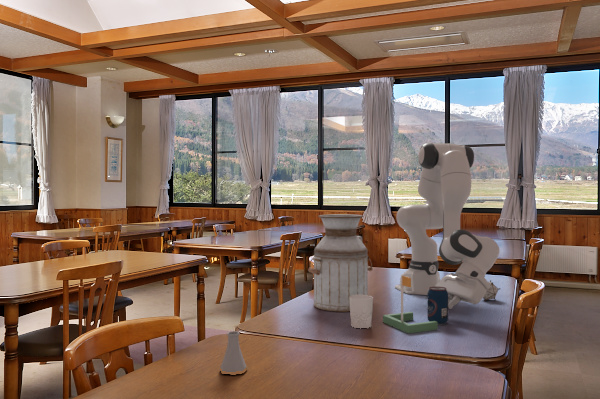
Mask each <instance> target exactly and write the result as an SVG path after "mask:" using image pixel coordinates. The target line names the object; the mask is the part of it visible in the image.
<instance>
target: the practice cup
mask: <svg viewBox="0 0 600 399" xmlns="http://www.w3.org/2000/svg"><path fill="white" fill-rule="evenodd" d="M400 278H401V291H400V312H398V313H390V314H383V315H382V323H383V322H384V324H386V325H388V326H390V327H392V326H393V327H392V328H395V329H397V330H399V331H401V332H404V333H406V334H414V333H422V332H429V331H435V330H436V331H437V330H439V328H438V322H436V321H430V322H429V321H424V322H416V323H407V322H408V321H413V320H414V312H412V311H406V312H404V292H403V285H404V286H407V287H411V278H409V277H405V276H403V275H402V274H401V275H400ZM406 321H407V322H406Z"/></svg>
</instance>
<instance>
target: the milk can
mask: <svg viewBox="0 0 600 399" xmlns="http://www.w3.org/2000/svg"><path fill="white" fill-rule="evenodd" d="M317 217H318V218H320V219H321V221H322V225H323V227H324V230H325V231H324V233H325V234H324V236H323V237H322V238H321V240H320V241H319V242H318V244H317V245H316V246H315V247H314V250H313V257H312V258H311V259H310V262H309V267H308V269H307V271H308V273H311V274H313V306H314V308H316V309H319V310H323V311H327V312H328V311H329V312H338V313H340V312H341V313H343V312H345V313H348V312H349V311H350V301H349V297H350V296H351V295H369V290H368V289H369V288H368V287H369V285H368V283H369V281H368V280H369V279H368V277H369V276H368V274H369V272H372V271H373V262H372V261H371V259H370V257H369V255H368V252H369V249H368V248H367V247H366V246H365V244H364V243H363V241H362V242H361V240H360V239H359V238H358V237H357V236H358V235H357V229H358V225H359V223H360V221H361V219H362V218H364V215H362V214H347V213H346V214H340V213H337V214H336V213H335V214H334V213H333V214H320V215H318V216H317ZM356 235H357V236H356ZM312 261H313V267H311V264H312ZM368 262H370V265H371V266H369V264H368ZM349 313H350V312H349Z"/></svg>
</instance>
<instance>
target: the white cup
mask: <svg viewBox="0 0 600 399" xmlns="http://www.w3.org/2000/svg"><path fill="white" fill-rule="evenodd" d="M349 301H350V312H349V315H350V325H351V326H352V327H351V328H353V327H354V328H353V329H356V328H360V329H359V330H362V329H361V328H367V329H370V328H371V327H372V319H373V305H374V304H373V302H374V297H373V296H372V295H370V294H368V295H351V296H350V297H349ZM369 327H370V328H369Z"/></svg>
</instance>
